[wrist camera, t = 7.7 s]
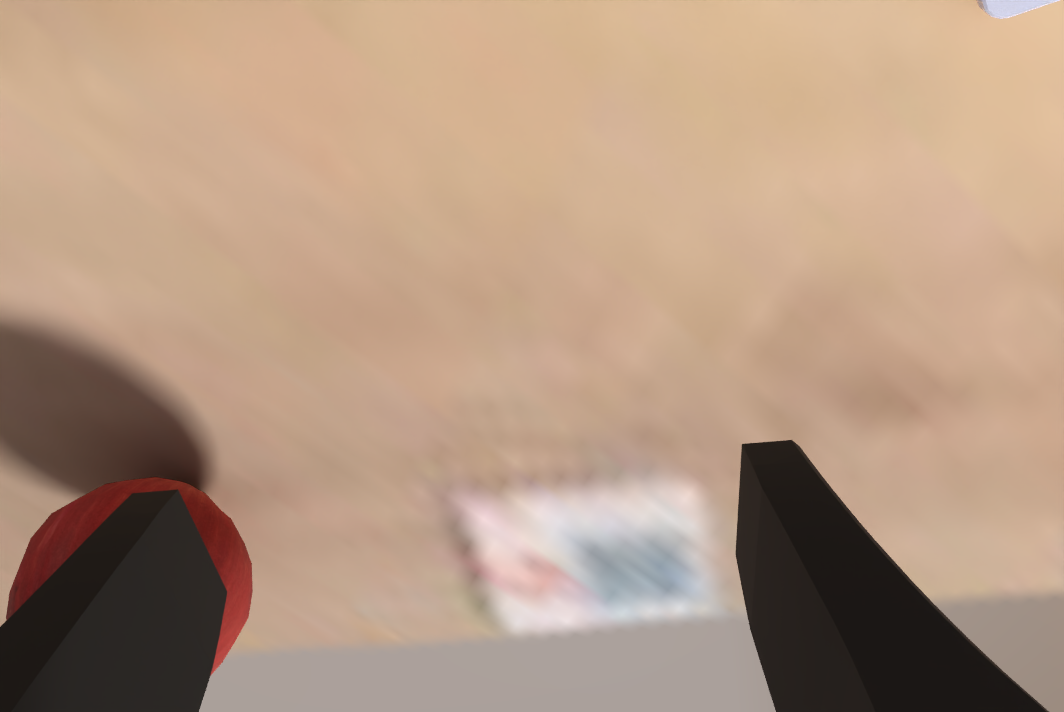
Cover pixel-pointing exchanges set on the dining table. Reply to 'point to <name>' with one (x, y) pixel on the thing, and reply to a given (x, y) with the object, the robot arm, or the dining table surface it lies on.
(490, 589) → the dining table surface
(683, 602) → the dining table surface
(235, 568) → the onion
